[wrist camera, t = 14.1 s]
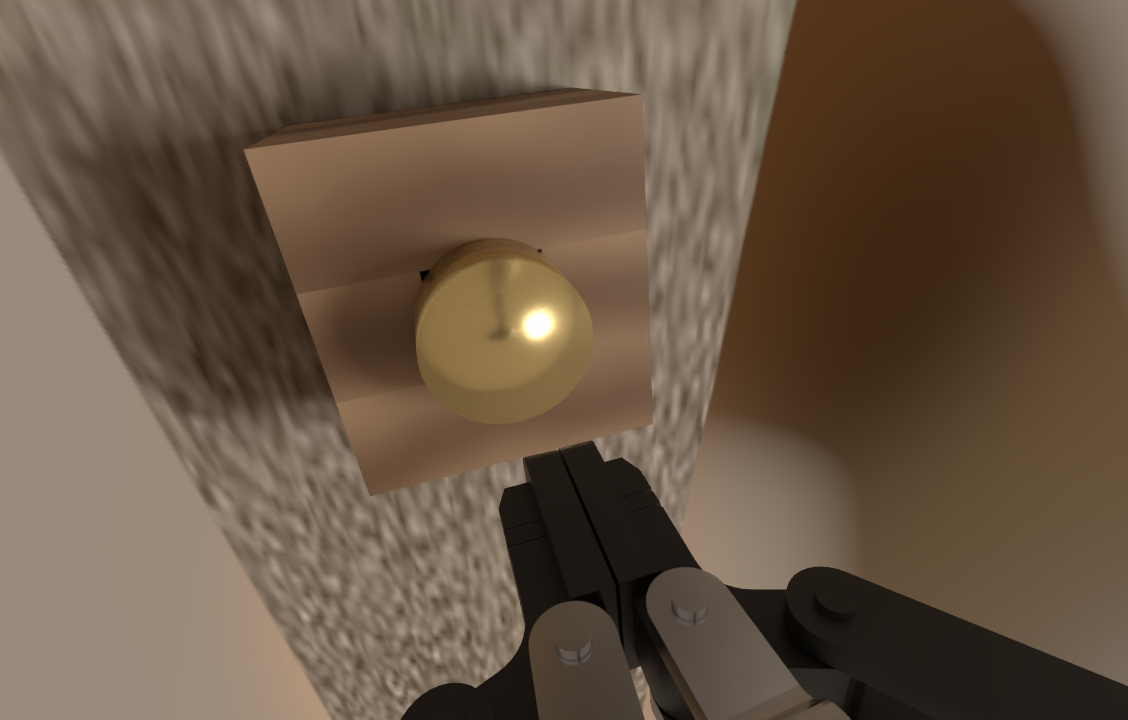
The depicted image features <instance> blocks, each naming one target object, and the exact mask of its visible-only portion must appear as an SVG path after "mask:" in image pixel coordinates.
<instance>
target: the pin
mask: <svg viewBox="0 0 1128 720" xmlns="http://www.w3.org/2000/svg"><path fill="white" fill-rule="evenodd" d="M414 328H415V340H416V351H417V360H418V366H419V370H420V373H421V375H422V378H423V380H424V382H425V384H426V386H427V388H428V389H429V391H430V392H431V393H432V395H433V396H434V397H435V398H436V399H437V400H438V401H439V402H440V403H441V404H442V405H443V406H445V407H446V408H447V409H449V410H450V411H452V412H454V413H455V414H457V415H459V416H461V417H464V418H466V419H469V420H472V421H476V422H480V423H487V424H509V423H515V422H521V421H524V420H527V419H531V418H533V417H536V416H538V415H540V414H542V413H544V412H546V411H548V410H550V409H551V408H553V407H554V406H556V405H557V404H558V403H560V402H561V401H562V400H563V399H564V398H565V397H567V396H568V395H569V393H570V392H571V391H572V390H573V389H574V388H575V387H576V385H577V384H578V382H579V381H580V380H581V378H582V376H583V374H584V372H585V370H586V368H587V366H588V363H589V360H590V357H591V353H592V347H593V327H592V321H591V317H590V314H589V311H588V309H587V307H586V305H585V303H584V301H583V299H582V298H581V296H580V295H579V293H578V292H577V291H576V290H575V288H574V287H573V286H572V285H571V284H570V282H569V281H568V280H567V279H566V278H565V277H564V275H563V274H562V273H561V272H560V271H559V269H558V268H557V267H556V266H555V265H554V264H553V262H552V261H551V260H550V259H549V258H548V257H547V256H545V255H544V254H543V253H542V252H540V251H539V250H537V249H535V248H534V247H532V246H530V245H527V244H525V243H523V242H519V241H516V240H512V239H505V238H487V239H479V240H475V241H471V242H468V243H466V244H463V245H461V246H459V247H457V248H455V249H453V250H451V251H450V252H448V253H447V254H445V255H444V256H443V257H441V258H440V259H439V260H438V261H437V262H436V263H435V264H434V265H433V266H432V267H431V269H430V270H429V271H428V273H427V274H426V276H425V277H424V279H423V281H422V282H421V284H420V287H419V289H418V292H417V295H416V299H415V304H414Z"/></svg>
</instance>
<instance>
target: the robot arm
mask: <svg viewBox="0 0 1128 720" xmlns="http://www.w3.org/2000/svg"><path fill="white" fill-rule="evenodd" d="M523 464H524V470H525V476H526V481H527V483H524V484H520V485H516V486H513V487H509V488H505V489H504V492H503V496H502V499H501V503H500V506H499V513H500V517H501V522H502V527H503V531H504V536H505V540H506V545H507V550H508V554H509V559H510V563H511V567H512V571H513V576H514V580H515V584H516V588H517V592H518V597H519V601H520V605H521V609H522V613H523V618H524V622H525V631H524V637H523V640H522V642H521V645H520V647H519V649H518V651H517V653H516V654H515V655H514V657H513V658H512V660H511V661H510V662H509V663H508V664H507V665H506V666H505V667H504V668H503V669H501V670H500V671H499V672H498V673H496V674H495V675H493V676H492V677H491V678H489V679H488V680H486V681H485V682H484V683H482V684H481V685H479V686H478V687H477V688H474V687H472V686H471V685H467V684H463V683H448V684H444V685H440V686H437V687H435V688H433V689H431V690H429V691H427V692H426V693H424V694H423V695H421V696H420V697H419V698H418V699H417V700H415V702H414V703H413V704H412V705H411V706H410V707H409V708H408V709H407V711H406V712H405V714H404V715H403V717H402V718H401V720H645V719H644V716H643V712H642V709H641V706H640V703H639V699H638V696H637V693H636V690H635V686H634V683H633V680H632V677H631V673H630V670H631V669H634V668H637V667H639V666H641V668H642V671H643V673H644V675H645V678H646V680H647V683H648V685H649V688H650V703H651V707H652V711H653V713H654V716H655V718H656V720H1128V686H1126V685H1124V684H1121V683H1119V682H1116V681H1114V680H1111V679H1109V678H1106V677H1104V676H1101V675H1099V674H1097V673H1094V672H1092V671H1089V670H1087V669H1084V668H1081V667H1079V666H1077V665H1074V664H1072V663H1069V662H1067V661H1064V660H1062V659H1059V658H1057V657H1055V656H1052V655H1050V654H1047V653H1045V652H1042V651H1040V650H1037V649H1035V648H1032V647H1029V646H1027V645H1025V644H1022V643H1020V642H1018V641H1015V640H1013V639H1010V638H1008V637H1005V636H1003V635H1000V634H998V633H995V632H993V631H990V630H988V629H985V628H983V627H980V626H978V625H975V624H973V623H971V622H968V621H966V620H963V619H961V618H958V617H956V616H953V615H951V614H948V613H946V612H943V611H941V610H938V609H936V608H933V607H931V606H929V605H926V604H924V603H921V602H919V601H916V600H914V599H911V598H909V597H906V596H904V595H901V594H899V593H896V592H894V591H892V590H889V589H886V588H884V587H882V586H879V585H877V584H874V583H872V582H869V581H867V580H864V579H862V578H859V577H857V576H854V575H852V574H850V573H847V572H844V571H841V570H839V569H835V568H830V567H812V568H807V569H804V570H802V571H800V572H798V573H797V574H795V575H794V576H793V578H791V580H790V582H789V583H788V587H787V590H753V589H752V590H751V589H740V588H735V587H731V586H728V585H725V584H724V583H723V582H722V581H720V580H719V579H718V578H717V577H715V576H714V575H712V574H711V573H708V572H706V571H704V570H702V569H701V568H700V566H699V565H698V564H697V562H696V561H695V559H694V557H693V556H692V554H691V553H690V551H689V549H688V548H687V546H686V544H685V543H684V541H683V539H682V538H681V536H680V535H679V533H678V531H677V530H676V528H675V526H674V525H673V523H672V521H671V520H670V518H669V517H668V515H667V513H666V512H665V510H664V508H663V507H661V505H660V502H659V500H658V499H657V497H656V495H655V494H654V492H652V490H651V487H650V485H649V484H648V482H647V481H646V479H645V477H644V476H643V474H642V472H641V471H640V470H639V469H638V468H636V467H635V466H633V465H632V464H630V463H629V462H627V461H626V460H625V459H623V458H618V459H614V460H610V461H606V462H604V461H603V459H602V457H601V455H600V453H599V451H598V449H597V447H596V446H595V444H594V442H593V441H592V440H590V441H586V442H582V443H578V444H575V445H571V446H567V447H563V448H559V449H558V451H557V450H552V451H548V452H544V453H540V454H536V455H532V456H528V457H524V458H523Z"/></svg>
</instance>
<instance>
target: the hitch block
mask: <svg viewBox="0 0 1128 720" xmlns="http://www.w3.org/2000/svg"><path fill="white" fill-rule="evenodd" d="M244 152H245V155H246V158H247V161H248V163H249V166H250V169H251V172H252V174H253V177H254V180H255V182H256V185H257V188H258V191H259V193H260V196H261V199H262V202H263V204H264V207H265V210H266V213H267V215H268V218H269V221H270V224H271V226H272V229H273V232H274V235H275V237H276V240H277V243H278V245H279V248H280V251H281V254H282V256H283V259H284V262H285V265H286V267H287V270H288V273H289V276H290V278H291V281H292V284H293V287H294V289H295V292H296V295H297V298H298V300H299V303H300V306H301V308H302V311H303V314H304V317H305V319H306V322H307V325H308V328H309V330H310V333H311V336H312V339H313V341H314V344H315V347H316V350H317V352H318V355H319V358H320V361H321V363H322V366H323V369H324V371H325V374H326V377H327V380H328V382H329V385H330V388H331V391H332V393H333V396H334V399H335V402H336V404H337V407H338V410H339V413H340V415H341V418H342V421H343V424H344V426H345V429H346V432H347V434H348V437H349V440H350V443H351V445H352V448H353V451H354V454H355V456H356V459H357V462H358V465H359V467H360V470H361V473H362V476H363V478H364V481H365V484H366V486H367V489H368V492H369V495H370V496H373V495H377V494H381V493H385V492H388V491H392V490H396V489H400V488H404V487H408V486H412V485H416V484H420V483H424V482H427V481H431V480H435V479H439V478H443V477H447V476H451V475H455V474H459V473H463V472H466V471H470V470H474V469H478V468H482V467H486V466H490V465H494V464H498V463H502V462H505V461H509V460H513V459H517V458H521V457H525V456H529V455H533V454H537V453H541V452H544V451H548V450H552V449H556V448H560V447H564V446H568V445H572V444H576V443H580V442H583V441H587V440H591V439H595V438H599V437H603V436H607V435H611V434H615V433H619V432H622V431H626V430H630V429H634V428H638V427H642V426H646V425H650V424H653V420H652V389H651V358H650V327H649V296H648V266H647V235H646V204H645V173H644V142H643V111H642V94H632V93H622V92H611V91H601V90H591V89H580V88H567V89H560V90H552V91H545V92H537V93H530V94H522V95H515V96H507V97H500V98H492V99H484V100H477V101H469V102H462V103H454V104H447V105H439V106H432V107H424V108H417V109H409V110H402V111H394V112H387V113H379V114H372V115H364V116H357V117H349V118H342V119H334V120H327V121H319V122H312V123H304V124H296V125H289V126H287V127H285V128H283V129H281V130H279V131H278V132H276V133H274V134H272V135H270V136H268V137H266V138H264V139H263V140H261V141H259V142H257V143H255V144H253V145H251V146H249V147H248V148H246V149H244ZM487 238H505V239H512V240H516V241H519V242H523V243H525V244H527V245H530V246H532V247H534V248H535V249H537V250H539V251H540V252H542V253H543V254H544V255H545V256H547V257H548V258H549V259H550V260H551V261H552V262H553V264H554V265H555V266H556V267H557V268H558V269H559V271H560V272H561V273H562V274H563V275H564V277H565V278H566V279H567V280H568V281H569V282H570V284H571V285H572V286H573V287H574V288H575V290H576V291H577V292H578V293H579V295H580V296H581V298H582V299H583V301H584V303H585V305H586V307H587V309H588V311H589V314H590V317H591V321H592V327H593V347H592V353H591V357H590V360H589V363H588V366H587V368H586V370H585V372H584V374H583V376H582V378H581V380H580V381H579V382H578V384H577V385H576V387H575V388H574V389H573V390H572V391H571V392H570V393H569V395H568V396H567V397H565V398H564V399H563V400H562V401H561V402H560V403H558V404H557V405H556V406H554V407H553V408H551V409H550V410H548V411H546V412H544V413H542V414H540V415H538V416H536V417H533V418H531V419H527V420H524V421H521V422H515V423H509V424H487V423H480V422H476V421H472V420H469V419H466V418H464V417H461V416H459V415H457V414H455V413H454V412H452V411H450V410H449V409H447V408H446V407H445V406H443V405H442V404H441V403H440V402H439V401H438V400H437V399H436V398H435V397H434V396H433V395H432V393H431V392H430V391H429V389H428V388H427V386H426V384H425V382H424V380H423V378H422V375H421V373H420V370H419V366H418V360H417V351H416V340H415V328H414V304H415V299H416V295H417V292H418V289H419V287H420V284H421V282H422V281H423V279H424V277H425V276H426V274H425V270H430V269H431V267H432V266H433V265H434V264H435V263H436V262H437V261H438V260H439V259H440V258H441V257H443V256H444V255H445V254H447V253H448V252H450V251H451V250H453V249H455V248H457V247H459V246H461V245H463V244H466V243H468V242H471V241H475V240H479V239H487Z"/></svg>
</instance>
